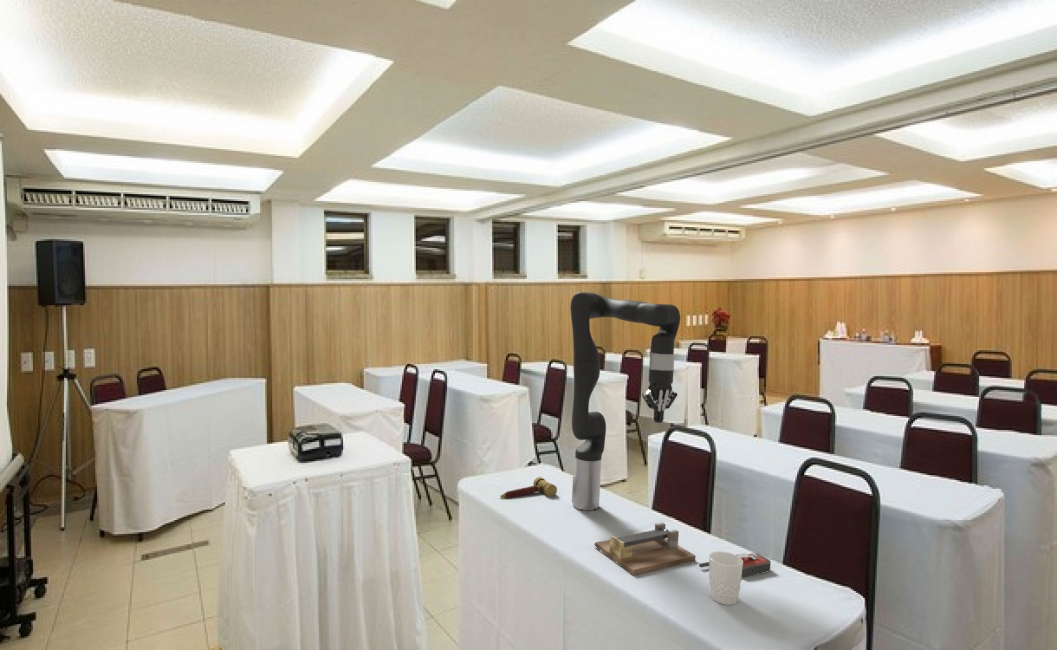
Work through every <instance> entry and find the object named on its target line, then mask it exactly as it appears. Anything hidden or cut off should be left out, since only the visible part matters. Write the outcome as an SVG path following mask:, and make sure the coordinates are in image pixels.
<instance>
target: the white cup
mask: <svg viewBox="0 0 1057 650" xmlns="http://www.w3.org/2000/svg"><path fill="white" fill-rule="evenodd" d="M736 555H737V554H734V553H732V552H727V551H714V552H711V553H710V554H709V556H708V558H709V559H708V560H709V561H708V562H709V566H708V580H709V581H708V582H709V583H708V585H709V597H710V598H711V600H713V601H715V602H716V603H718V604H721V605H727V606H732V605H736V604H737V603H738V602H739V599H740V598H739V596H740V590H741V583H742V578H743V577H742V567H743V560H742V559H741V558H740V557H738V556H736Z"/></svg>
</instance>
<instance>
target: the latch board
mask: <svg viewBox="0 0 1057 650" xmlns="http://www.w3.org/2000/svg"><path fill="white" fill-rule="evenodd" d="M662 528H665V529H666V523H664V522H660V523H659V522H658V523H655V524H654V530H657V529H662ZM679 533H680V532H679V530H677V529H674V530H669V531H668V538H664V539H659V540H655V541H650V542H645V543H641V544H636V545H631V546H626V547H624V542H622V541H621V540H619V539H618V538H617V537H616V536H614V535H611V536H610V539H607V540H606V539H605V540H600V541H597V542H596V541H595V542H594V547H595V546H596V547H597V548H598V549H599V550H601V551H602V552H603V553H604V554H606V555H607V556H609V557H610V558H611V559H613V560H614V561H615V562H617V563H618V564H619V565H618V564H617V563H616V564H617V565H618V566H620V567H621V566H622V567H623V568H622V567H621V568H622V569H623V570H625V569H626V570H627V572H628V573H629V572H630V573H631V574H630V573H629V574H630V575H632V574H633V575H632V576H636V575H635V574H637V575H641V574H645V573H649V572H648V571H650V572H653V570H654V571H657V570H661V569H665V568H670V567H674V566H675V567H676V566H679V565H683V564H687V563H692V562H696V554H694V553H692V552H691V551H688V550H687V549H685V548H683V547H681V546H680V545H679V535H680V534H679ZM598 549H597V550H598ZM599 550H598V551H599ZM602 552H601V553H602ZM603 553H602V554H603ZM604 554H603V555H604ZM606 555H605V556H606ZM607 556H606V557H607ZM609 557H608V558H609ZM610 558H609V559H610ZM611 559H610V560H611ZM613 560H612V561H613ZM614 561H613V562H614ZM615 562H614V563H615ZM626 570H625V571H626ZM640 573H641V574H640Z"/></svg>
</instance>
